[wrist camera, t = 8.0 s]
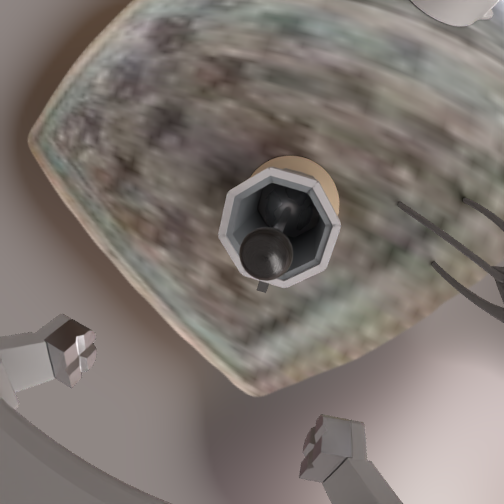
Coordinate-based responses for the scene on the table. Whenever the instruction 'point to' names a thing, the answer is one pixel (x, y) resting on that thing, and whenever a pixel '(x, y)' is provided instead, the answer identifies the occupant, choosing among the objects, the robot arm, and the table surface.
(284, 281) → the grey octagonal cup
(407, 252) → the table surface
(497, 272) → the citrus juicer
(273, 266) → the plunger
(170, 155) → the table surface
